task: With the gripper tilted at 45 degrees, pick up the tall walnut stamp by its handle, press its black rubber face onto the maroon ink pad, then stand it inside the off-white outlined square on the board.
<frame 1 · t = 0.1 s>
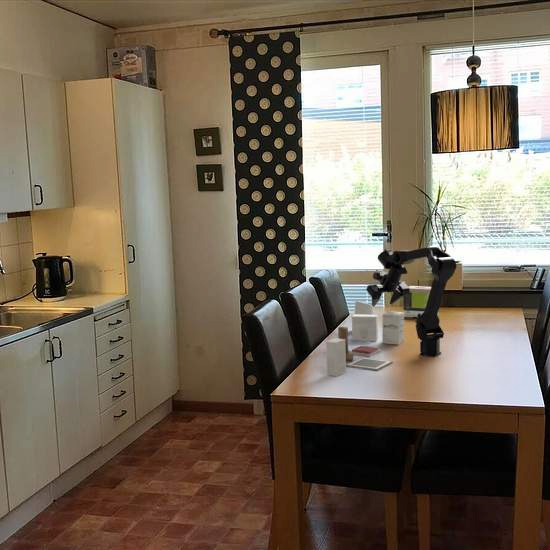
hand: (381, 304, 292), 15 cm above the table, tool tilted 35°, fingers open, 9 cm apart
ink pad: (365, 352, 271), on the table
walnut stamp: (343, 360, 261), on the table
smart speaker: (364, 331, 312), on the table
skincare box: (336, 374, 242), on the table
tea box: (420, 317, 343), on the table
marked board: (369, 364, 253), on the table
skincare box 2: (365, 339, 295), on the table
supplement box: (393, 342, 288), on the table
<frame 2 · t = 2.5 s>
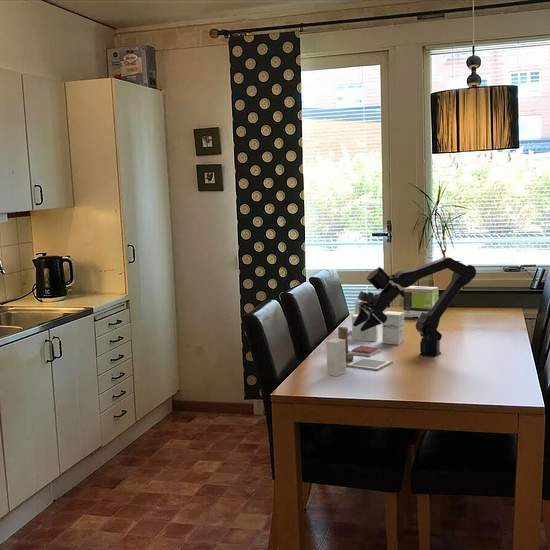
hand: (357, 328, 260), 12 cm above the table, tool tilted 45°, fingers open, 9 cm apart
nothing on the table moved.
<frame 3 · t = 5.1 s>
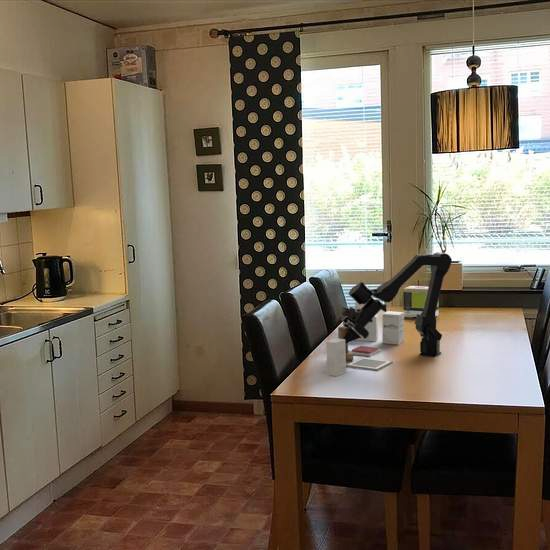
hand: (339, 343, 260), 7 cm above the table, tool tilted 45°, fingers closed on walnut stamp, 4 cm apart
walnut stamp: (343, 360, 261), on the table, touching gripper
everything else where it was.
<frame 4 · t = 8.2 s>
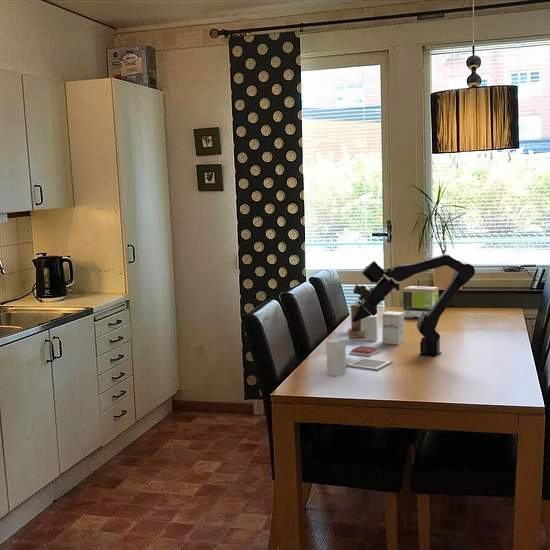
hand: (352, 320, 266), 14 cm above the table, tool tilted 45°, fingers closed on walnut stamp, 4 cm apart
walnut stamp: (356, 337, 267), point 7 cm above the table, touching gripper
everything else where it was.
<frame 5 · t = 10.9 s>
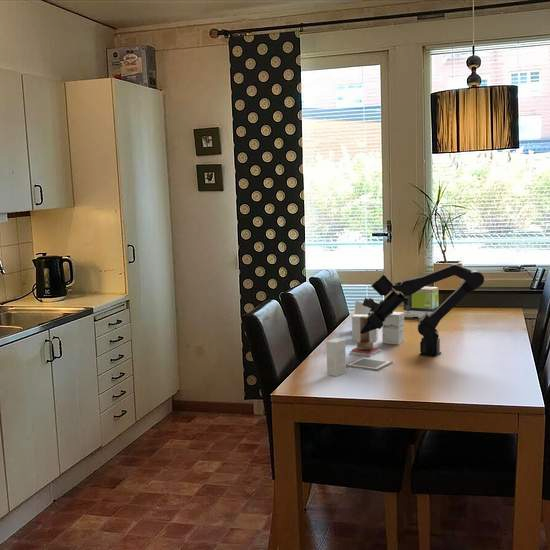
hand: (361, 332, 270), 8 cm above the table, tool tilted 45°, fingers closed on walnut stamp, 4 cm apart
walnut stamp: (365, 348, 271), point 2 cm above the table, touching gripper, ink pad
everything else where it was.
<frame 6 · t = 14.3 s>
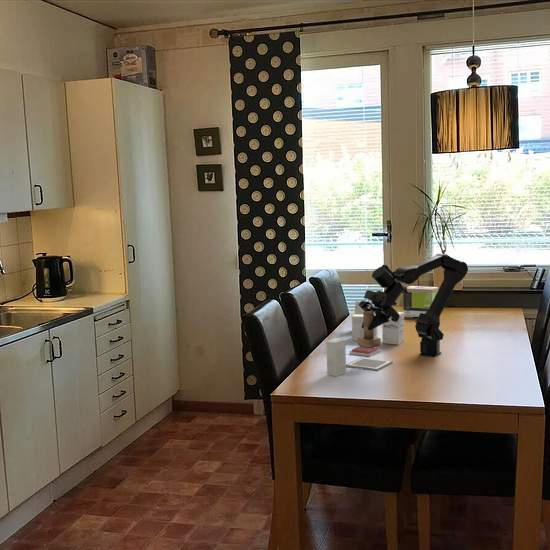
hand: (365, 328, 251), 13 cm above the table, tool tilted 45°, fingers closed on walnut stamp, 4 cm apart
walnut stamp: (369, 345, 253), point 7 cm above the table, touching gripper
everything else where it was.
when the fingers open (8 cm above the table, at t = 16.9 s): walnut stamp drops 1 cm, resting on marked board.
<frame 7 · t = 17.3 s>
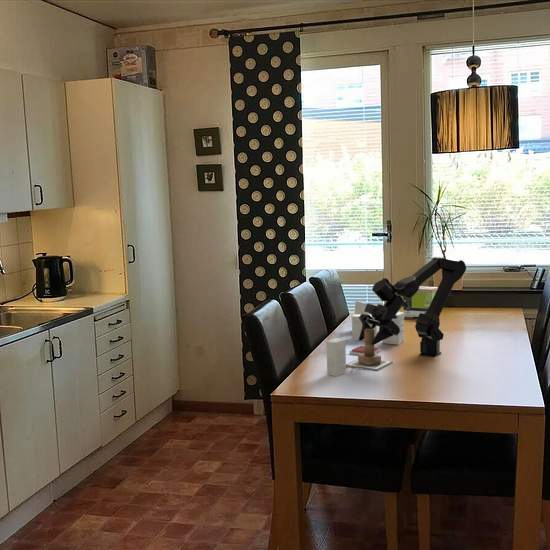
hand: (365, 342, 251), 9 cm above the table, tool tilted 45°, fingers open, 8 cm apart
walnut stamp: (369, 363, 253), resting on marked board
everything else where it was.
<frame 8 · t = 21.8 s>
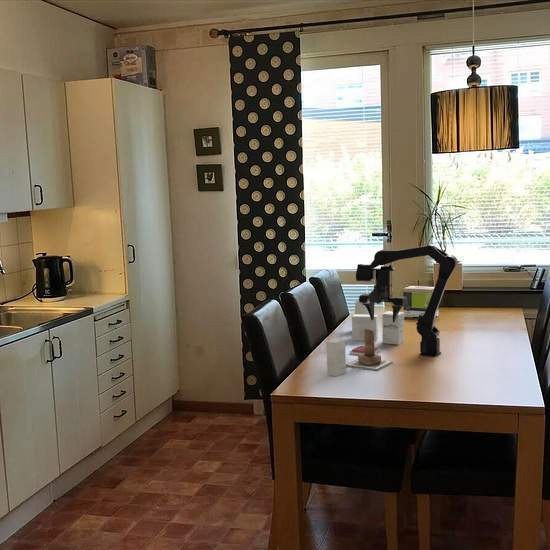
hand: (383, 321, 272), 12 cm above the table, tool pointing down, fingers open, 9 cm apart
nothing on the table moved.
at the end: walnut stamp inside the target area on the marked board (0.2 cm from its centre), point 0.5 cm above the marked board's base; walnut stamp tilted 0°; the gripper is holding nothing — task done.
